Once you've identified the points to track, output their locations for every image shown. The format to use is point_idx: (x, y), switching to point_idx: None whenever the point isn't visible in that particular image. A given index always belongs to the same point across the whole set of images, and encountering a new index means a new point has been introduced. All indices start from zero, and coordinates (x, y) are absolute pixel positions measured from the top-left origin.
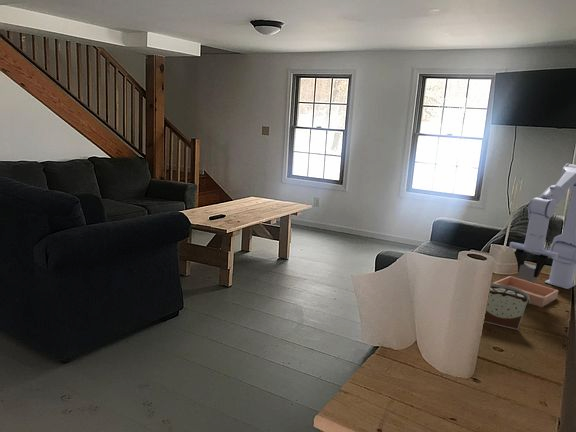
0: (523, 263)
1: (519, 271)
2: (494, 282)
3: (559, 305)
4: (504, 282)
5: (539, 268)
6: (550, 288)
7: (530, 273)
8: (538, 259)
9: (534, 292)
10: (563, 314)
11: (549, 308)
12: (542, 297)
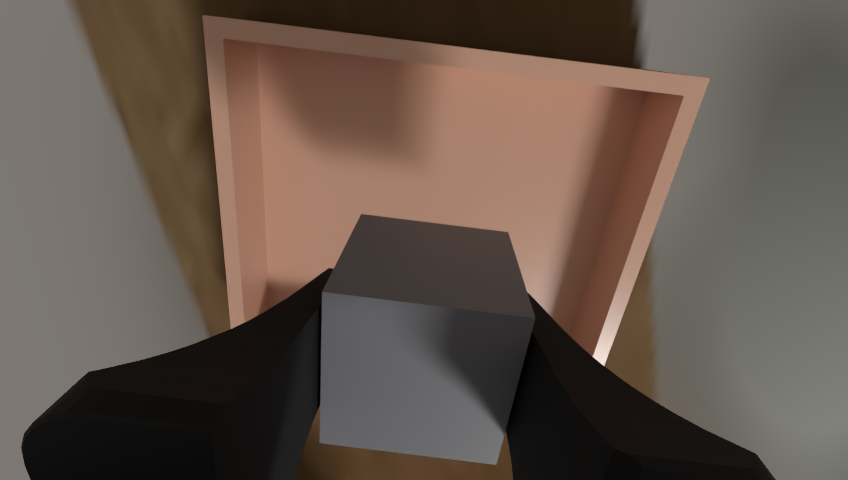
0: (512, 426)
1: (513, 267)
2: (693, 103)
3: (196, 210)
4: (600, 288)
5: (255, 317)
6: None
7: (378, 256)
8: (195, 388)
9: None
10: (84, 13)
11: (203, 66)
12: (223, 47)
